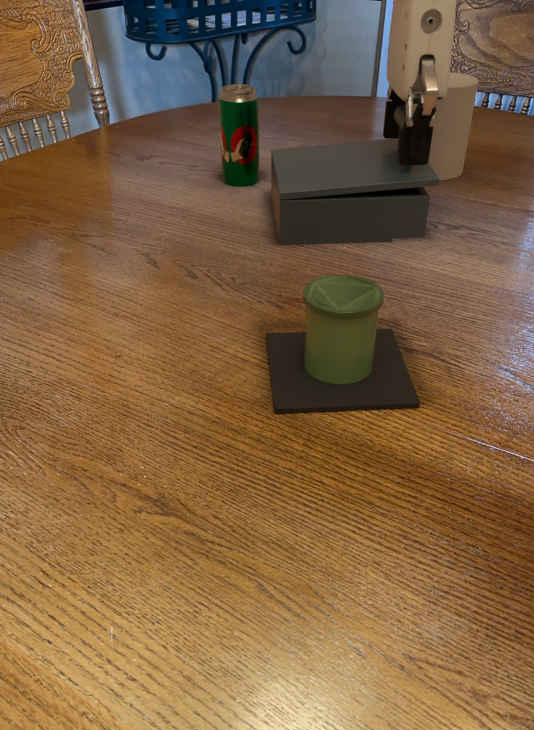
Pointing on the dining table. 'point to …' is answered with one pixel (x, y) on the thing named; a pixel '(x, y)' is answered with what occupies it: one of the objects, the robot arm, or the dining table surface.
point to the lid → (348, 168)
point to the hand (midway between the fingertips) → (404, 150)
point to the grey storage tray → (350, 216)
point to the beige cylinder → (452, 126)
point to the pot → (341, 327)
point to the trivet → (308, 394)
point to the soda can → (239, 135)
